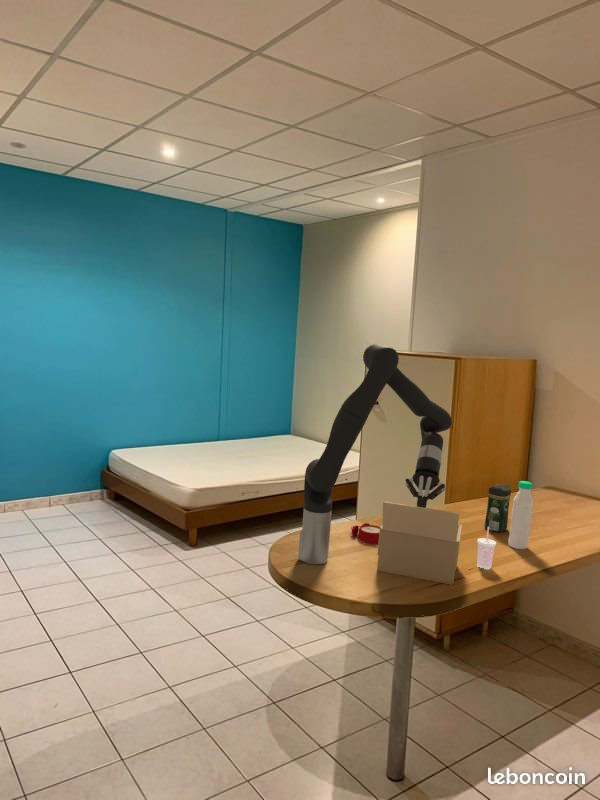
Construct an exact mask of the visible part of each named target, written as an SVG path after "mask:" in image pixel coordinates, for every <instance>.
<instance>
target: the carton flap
mask: <svg viewBox="0 0 600 800" xmlns="http://www.w3.org/2000/svg"><path fill="white" fill-rule="evenodd" d="M459 519H460V512H454V511H449V510H441V509H437V508H436V509H435V508H429V507H426V508H424V507H417V505H410V504H409V505H408V504H404V503H398V502H397V503H396V502H391V501H382V522H381V523H382V524H381V525H382V530H388V531H394V532H400V533H406V534H411V535H417V536H423V537H429V538H435V539H441V540H447V541H452V542H456V541H457V531H458V524H459V522H460V521H459Z"/></svg>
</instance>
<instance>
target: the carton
mask: <svg viewBox="0 0 600 800" xmlns="http://www.w3.org/2000/svg"><path fill="white" fill-rule="evenodd" d="M379 527H380V532H379V543H378V544H377V554H376V555H377V556H378V557H377V565H376V566H377V567H376V571H378V572H383V573H388V574H393V575H399V576H403V577H408V578H415V579H419V578H420V579H419V580H424V579H425V581H430V580H431V581H432V582H435V583H441V584H447V585H452V586H453V585H454V582H455V575H456V570H457V568H458V561H459V555H460V546H461V545H460V544H461V539H462V538H461V537H462V529H463V525H462V524H459V523H458V531H457V541H456V542H452V541H447V540H441V539H435V538H429V537H423V536H417V535H411V534H406V533H400V532H394V531H388V530H382V524H381V526H379ZM431 581H430V582H431Z"/></svg>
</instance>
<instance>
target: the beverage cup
mask: <svg viewBox="0 0 600 800" xmlns="http://www.w3.org/2000/svg"><path fill="white" fill-rule="evenodd" d="M489 533H490V530H489V527H488V529H486V537H484V538H483V537H481V538H480V537H479V538H477V540H476V541H477V558H476V559H477V560H476V566H477V568H479V567H480V568H479V569H481V568H484V569H483V570H491V569H492V563H493V559H494V553H495V547H496V546H497V541H495V540H493V539H491V538H489ZM490 568H491V569H490Z"/></svg>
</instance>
